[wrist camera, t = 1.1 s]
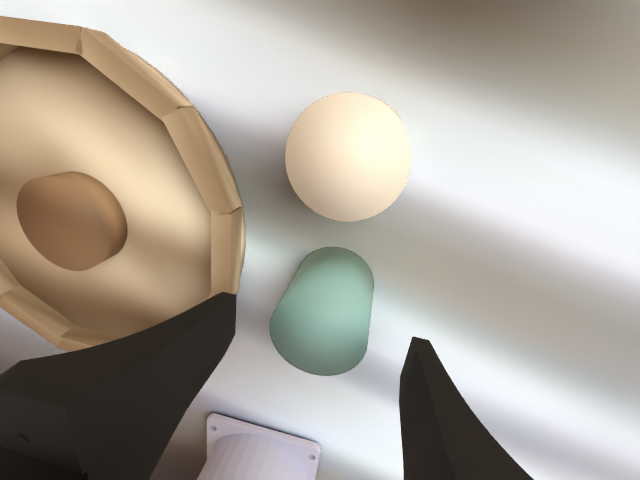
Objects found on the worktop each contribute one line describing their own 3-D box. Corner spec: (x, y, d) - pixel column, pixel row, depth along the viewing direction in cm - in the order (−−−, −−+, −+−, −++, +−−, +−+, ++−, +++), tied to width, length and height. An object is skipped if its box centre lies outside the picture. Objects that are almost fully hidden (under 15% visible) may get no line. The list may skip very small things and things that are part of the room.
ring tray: (239, 372, 21) (223, 400, 19) (1, 308, 24) (-36, 327, 22) (254, 53, 14) (231, 45, 12) (-92, 7, 16) (-159, -6, 14)
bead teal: (365, 321, 18) (357, 385, 14) (294, 305, 18) (266, 361, 14) (381, 255, 16) (377, 306, 12) (302, 239, 17) (273, 282, 13)
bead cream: (394, 197, 15) (395, 231, 11) (309, 181, 16) (280, 209, 12) (416, 102, 14) (426, 103, 9) (320, 89, 14) (291, 83, 10)
